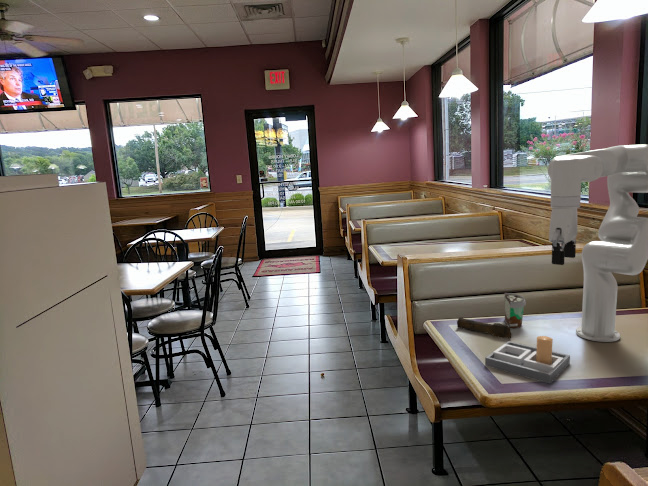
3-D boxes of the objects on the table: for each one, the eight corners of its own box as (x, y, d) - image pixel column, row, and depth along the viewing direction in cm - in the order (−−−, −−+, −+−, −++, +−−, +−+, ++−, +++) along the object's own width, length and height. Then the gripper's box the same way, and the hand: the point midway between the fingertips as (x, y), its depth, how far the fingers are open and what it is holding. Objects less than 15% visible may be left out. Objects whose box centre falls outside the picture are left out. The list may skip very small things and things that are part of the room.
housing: (508, 348, 148) (508, 339, 147) (569, 363, 135) (570, 353, 135) (485, 365, 136) (485, 355, 136) (549, 383, 124) (550, 373, 123)
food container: (528, 330, 162) (529, 302, 160) (510, 329, 163) (510, 302, 162) (521, 318, 174) (522, 292, 172) (503, 318, 175) (504, 292, 173)
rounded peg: (539, 361, 135) (539, 335, 134) (553, 364, 133) (554, 338, 131) (533, 365, 133) (534, 339, 131) (548, 369, 130) (549, 342, 128)
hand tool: (455, 329, 167) (455, 316, 166) (461, 326, 170) (461, 313, 169) (507, 342, 154) (507, 328, 153) (512, 338, 156) (513, 325, 155)
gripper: (561, 198, 141) (560, 253, 144) (540, 205, 129) (539, 265, 132) (589, 198, 136) (586, 256, 139) (569, 206, 124) (567, 268, 127)
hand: (563, 260), depth 136 cm, fingers open, 9 cm apart
